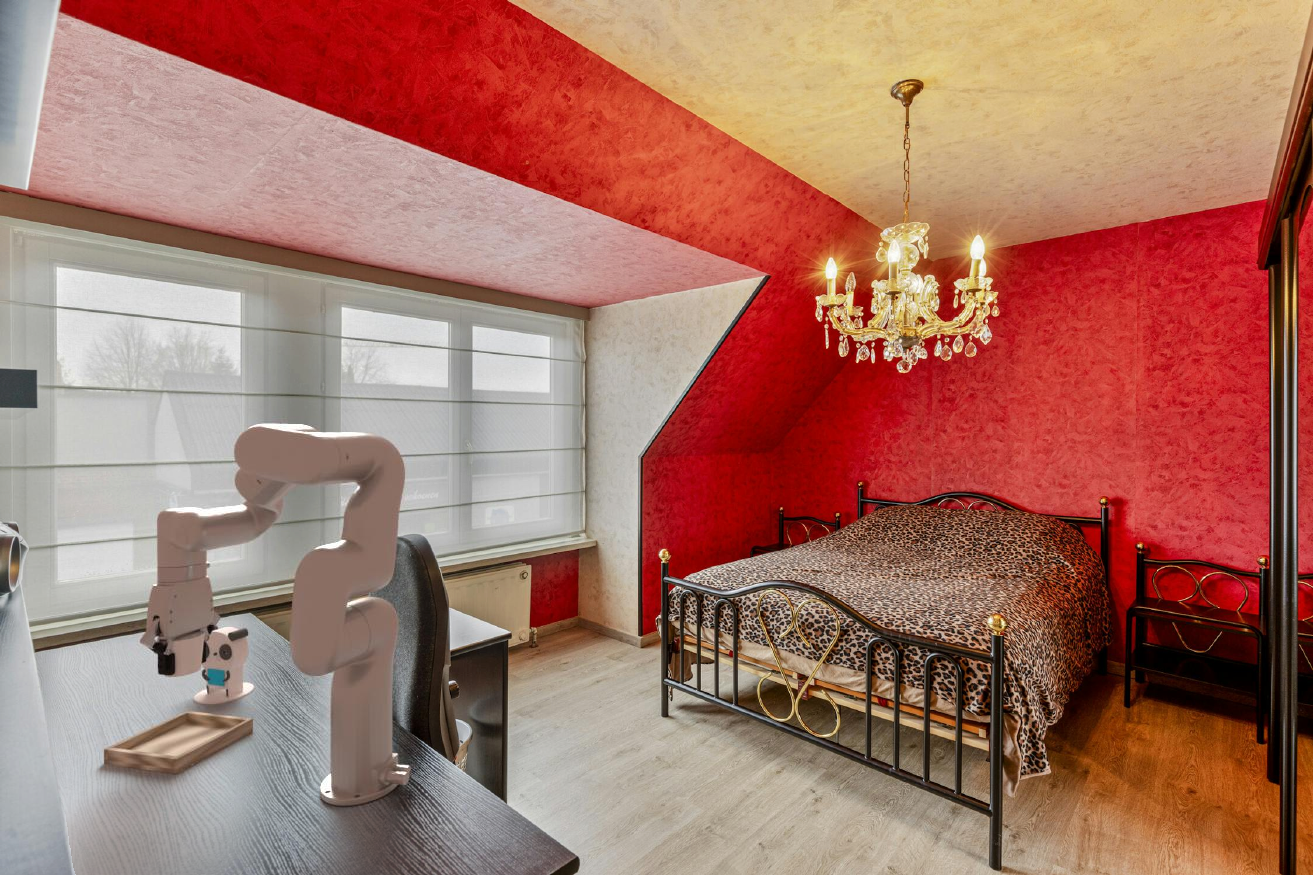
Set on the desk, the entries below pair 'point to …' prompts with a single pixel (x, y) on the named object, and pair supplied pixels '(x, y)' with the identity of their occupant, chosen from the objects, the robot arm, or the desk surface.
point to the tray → (178, 742)
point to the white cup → (187, 653)
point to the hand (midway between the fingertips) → (182, 667)
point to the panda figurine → (225, 666)
